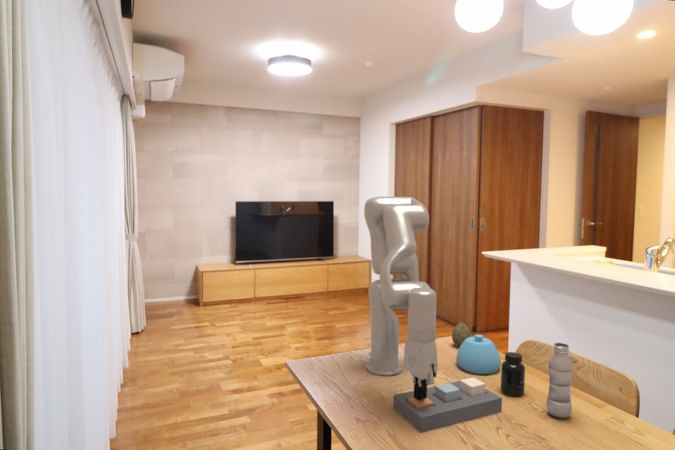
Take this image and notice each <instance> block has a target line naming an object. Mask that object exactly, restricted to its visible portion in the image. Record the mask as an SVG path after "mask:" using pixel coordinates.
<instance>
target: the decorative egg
mask: <svg viewBox="0 0 675 450" xmlns="http://www.w3.org/2000/svg"><path fill="white" fill-rule="evenodd" d="M469 337H472V336H471V331H470V329H469V327H468V326H467V325H466V324H465V323H464V322H462V321H461V322H458V324H456V325H455V326H454V328H453V330H452V333H451V339H452V342H453V343H454V345H456V347H458V348H460V346H461V345H462V343H463V342H464V341H465V339H467V338H469Z"/></svg>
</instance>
